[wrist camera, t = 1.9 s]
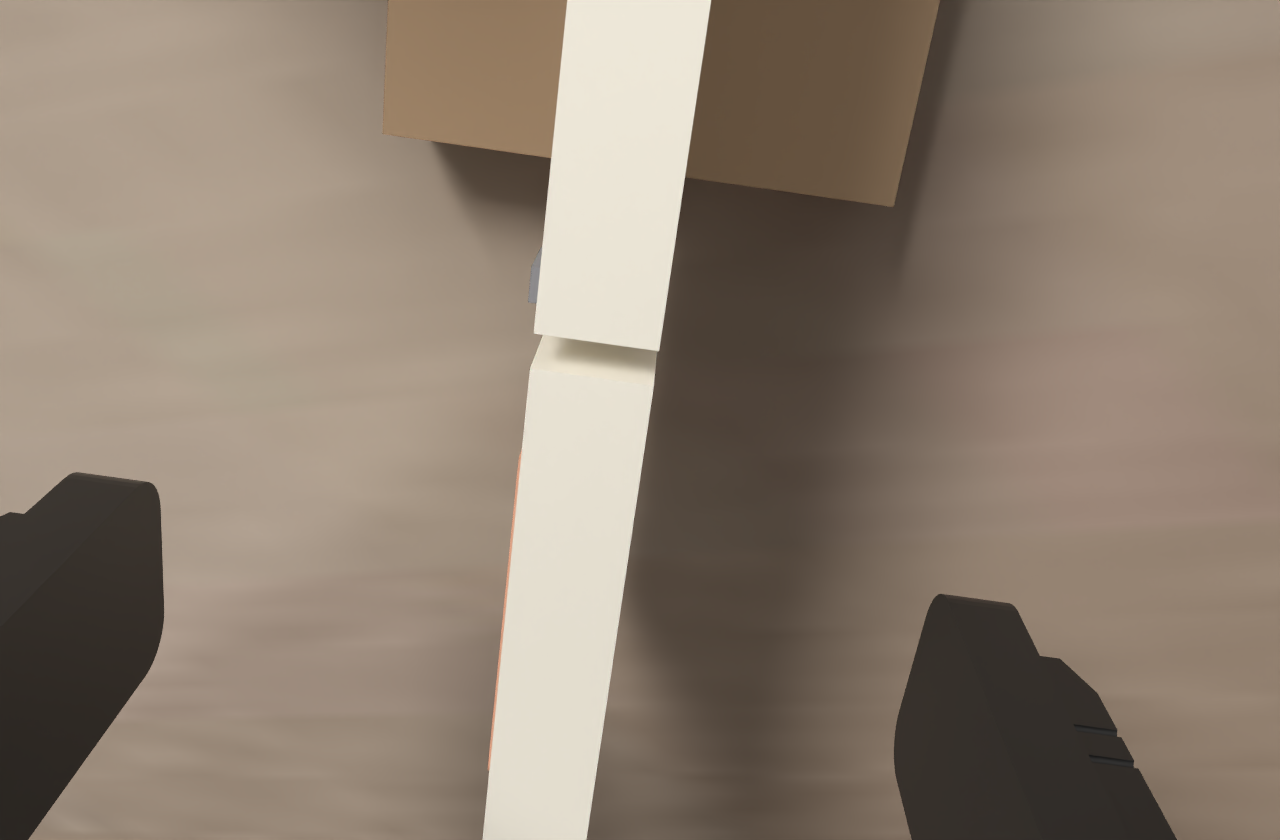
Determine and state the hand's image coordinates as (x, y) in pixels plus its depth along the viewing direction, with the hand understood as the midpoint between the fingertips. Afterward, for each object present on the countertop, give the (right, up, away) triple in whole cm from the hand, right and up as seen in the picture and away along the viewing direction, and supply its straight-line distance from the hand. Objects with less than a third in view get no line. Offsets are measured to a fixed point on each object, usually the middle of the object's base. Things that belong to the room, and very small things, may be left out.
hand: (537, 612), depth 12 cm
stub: (+1, +2, +5) cm, 6 cm away
